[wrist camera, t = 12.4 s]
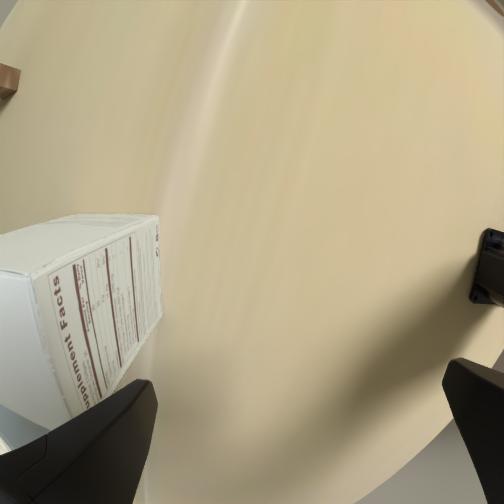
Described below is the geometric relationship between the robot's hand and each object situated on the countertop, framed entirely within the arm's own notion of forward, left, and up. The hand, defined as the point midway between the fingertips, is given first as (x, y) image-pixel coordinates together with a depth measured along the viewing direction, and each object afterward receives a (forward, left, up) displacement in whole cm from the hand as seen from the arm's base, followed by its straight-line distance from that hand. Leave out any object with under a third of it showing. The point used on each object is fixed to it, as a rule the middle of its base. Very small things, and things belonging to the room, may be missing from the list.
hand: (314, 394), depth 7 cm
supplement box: (+11, +1, -12) cm, 17 cm away
